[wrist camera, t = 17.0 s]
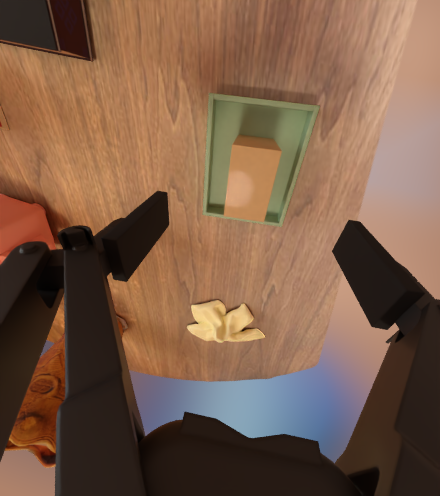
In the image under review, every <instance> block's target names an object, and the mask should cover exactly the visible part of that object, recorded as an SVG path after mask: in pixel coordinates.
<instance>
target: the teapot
mask: <svg viewBox="0 0 440 496" xmlns="http://www.w3.org/2000/svg"><path fill="white" fill-rule="evenodd" d="M45 214H46V212H45V209H44V208H43V207H42V206H41V205H39V204H37V203H33V204H32V205H31V204H29V203H26V202H23V201H20V200H17V199H14V198H10V197H8V196H6V195H4V194H0V264H1V263H2V262H3V261H4V260H5V258H6V257H7V256H8V255H9V253H10V252H11V251H12V250H13V249H14V248H15V247H17V246H19V245H21V244H23V243H26V242H33V241H42V242H46V244H47V245H48V247H49V249H50V250H54V249H56V247H55V244H54V237H53V236H52V233H51V230H50V227H49V224H48V221H47V219H46V216H45Z"/></svg>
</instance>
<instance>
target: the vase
mask: <svg viewBox="0 0 440 496" xmlns="http://www.w3.org/2000/svg"><path fill="white" fill-rule="evenodd" d="M116 317H117V321H118V326H119V330H120V334H121V339H122V335H123V333H124V330H125V329H127V327H128V325H126V324H127V323H125V322H126V321H125V320H123V319H122V318H119V317H118V316H116ZM64 399H65V333H64V334H63V336H62V337H61V339H59V340H58V341H57V342H56V343H55V344H54V345H53V346H52V347H51V348H50V349H49V350H48V351H47V352H46V353H45V354H44V355H42V356H41V357H40V358H39V361H38V363H37V366H36V369H35V371H34V374H33V376H32V379H31V382H30V384H29V387H28V390H27V392H26V395H25V398H24V400H23V403H22V406H21V408H20V411H19V414H18V416H17V419H16V422H15V424H14V427H13V430H12V432H11V435H10V437H9V440H8V443H7V445H6V448H5V451H7V450H28V451H29V452H32V453H33V454H34V455H35V457H36V458H37V459H38V460H39V462H40V463H41V464H42V465H43V466H44V467H45V468H50V467H55V466H56V420H57V411H58V408H59V405H60V404H61V403H62V402H63V401H64Z"/></svg>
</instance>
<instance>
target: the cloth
mask: <svg viewBox="0 0 440 496" xmlns="http://www.w3.org/2000/svg"><path fill="white" fill-rule="evenodd" d="M191 309H192V313H193V316H194V318H195V320H196V321H197V322H198V324H192V325H188V326H187V329H188V330H189V331H190V332H191V333H192V334H194V335H195V336H197V337H199V338H201V339H203V340H205V341H211V340H216V341H217V342H219V343H222V342H224V341H232V342H238V341H251V340H256V339H261V338H265V336H264V334H263V333H262V332H261V331H260V330H259V329H247V330H245V331H243V332H242V329H243V328H244V327H245V326H247V325H248V324H250V323H251V322H252V321H253V320H254V317H253V316H252V314H251V313H250V311H249V309H248V308H247V306H246V305H245V304H241V306H240V307H239V308H238V309H235V310H232V311H230V312H228V314H227V313H226V308H225V306H224V304H223V303H222V302H220V301H219V300H216V301H211V302H208V303H203V304H198V305H192V306H191Z"/></svg>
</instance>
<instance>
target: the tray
mask: <svg viewBox="0 0 440 496" xmlns="http://www.w3.org/2000/svg"><path fill="white" fill-rule="evenodd" d="M319 108H320V106H318V105H309V104H300V103H292V102H283V101H275V100H266V99H258V98H249V97H241V96H232V95H224V94H215V93H209V100H208V119H207V139H206V158H205V177H204V197H203V215H207V216H213V217H220V218H226V219H233V220H239V221H246V222H252V223H259V224H266V225H272V226H279V227H282V224H283V221H284V218H285V215H286V212H287V208H288V205H289V202H290V199H291V196H292V193H293V190H294V187H295V183H296V180H297V177H298V174H299V171H300V168H301V165H302V161H303V158H304V155H305V152H306V149H307V146H308V143H309V139H310V136H311V133H312V130H313V127H314V124H315V121H316V117H317V114H318V111H319ZM238 135H247V136H255V137H263V138H270V139H274V140H275V142H276V143H277V145H278V146H279V147H280V149H281V150H282V153H281V157H280V161H279V165H278V169H277V173H276V177H275V181H274V185H273V189H272V193H271V196H270V200H269V204H268V208H267V212H266V216H265V220H264V222H259V221H252V220H245V219H239V218H232V217H226V216H224V209H225V200H226V192H227V184H228V175H229V167H230V158H231V150H232V144H233V143H234V141H235V139H236V138H237V136H238Z"/></svg>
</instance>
